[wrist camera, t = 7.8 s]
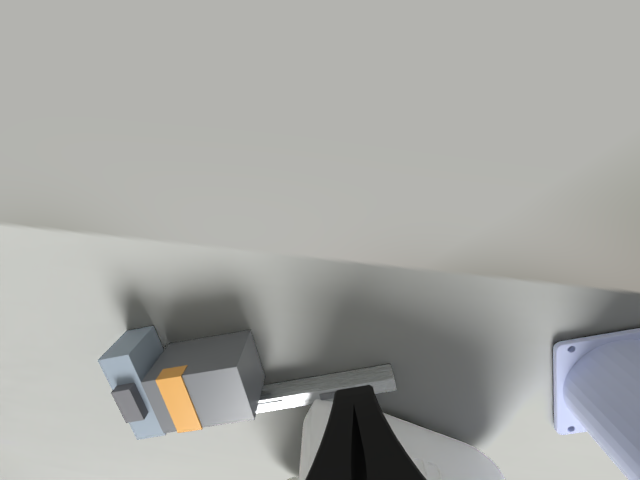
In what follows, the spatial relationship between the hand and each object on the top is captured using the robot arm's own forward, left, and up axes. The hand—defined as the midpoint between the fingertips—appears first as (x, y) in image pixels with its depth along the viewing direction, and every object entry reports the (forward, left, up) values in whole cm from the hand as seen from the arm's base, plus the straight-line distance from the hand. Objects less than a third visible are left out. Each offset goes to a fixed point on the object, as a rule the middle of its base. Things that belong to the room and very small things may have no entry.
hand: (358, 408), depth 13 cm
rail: (+7, +7, -10) cm, 14 cm away
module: (+10, +4, -11) cm, 15 cm away
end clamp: (+15, +4, -10) cm, 18 cm away
